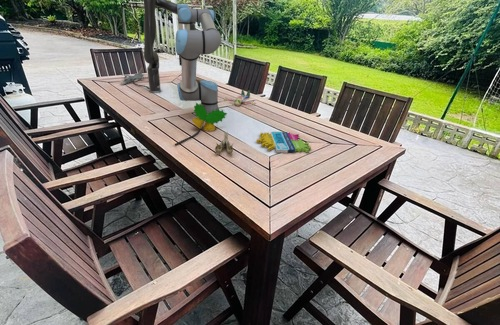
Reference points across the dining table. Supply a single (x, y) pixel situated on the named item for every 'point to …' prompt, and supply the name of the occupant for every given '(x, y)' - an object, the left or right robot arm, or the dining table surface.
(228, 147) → the jawbone
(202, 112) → the ornament
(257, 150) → the dining table surface
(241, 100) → the toy
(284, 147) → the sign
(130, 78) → the airplane
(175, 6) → the left robot arm
